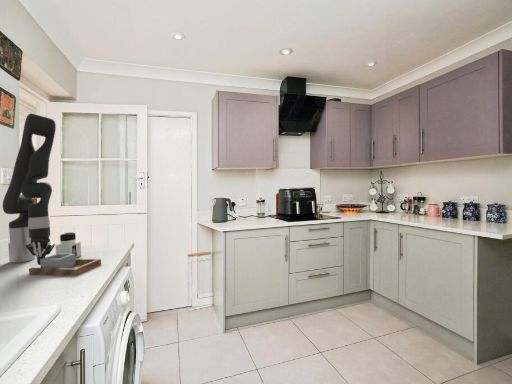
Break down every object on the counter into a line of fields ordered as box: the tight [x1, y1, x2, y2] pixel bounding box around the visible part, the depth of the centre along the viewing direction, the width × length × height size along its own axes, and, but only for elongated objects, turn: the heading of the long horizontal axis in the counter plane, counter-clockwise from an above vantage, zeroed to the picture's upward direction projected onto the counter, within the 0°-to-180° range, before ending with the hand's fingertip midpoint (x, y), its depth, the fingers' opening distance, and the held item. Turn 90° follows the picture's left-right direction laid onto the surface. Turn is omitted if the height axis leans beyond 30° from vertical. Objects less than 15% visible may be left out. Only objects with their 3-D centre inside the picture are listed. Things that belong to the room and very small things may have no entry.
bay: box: [28, 258, 102, 276], centre depth 120 cm, size 22×15×2 cm
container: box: [55, 231, 82, 259], centre depth 138 cm, size 8×8×13 cm
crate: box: [39, 253, 77, 268], centre depth 120 cm, size 9×9×6 cm
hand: (41, 264), depth 121 cm, fingers closed
